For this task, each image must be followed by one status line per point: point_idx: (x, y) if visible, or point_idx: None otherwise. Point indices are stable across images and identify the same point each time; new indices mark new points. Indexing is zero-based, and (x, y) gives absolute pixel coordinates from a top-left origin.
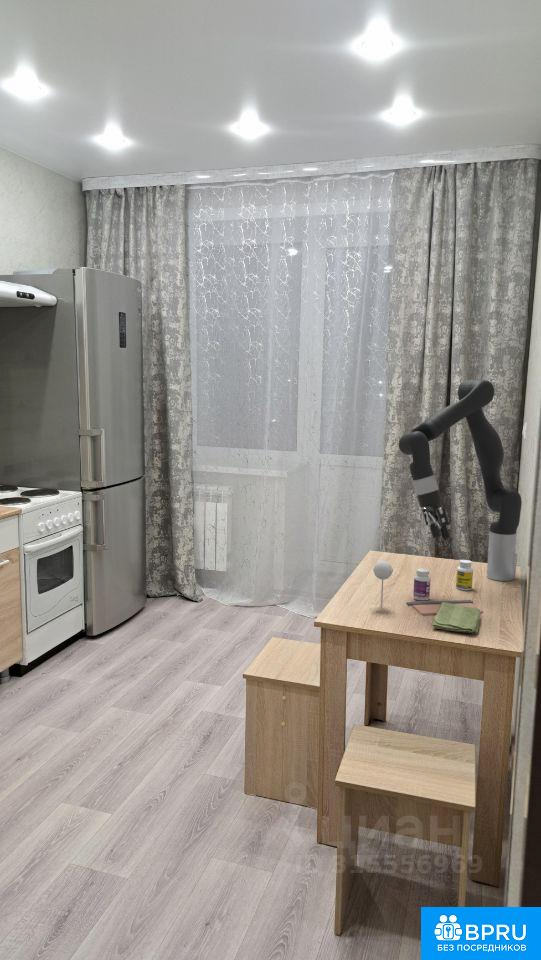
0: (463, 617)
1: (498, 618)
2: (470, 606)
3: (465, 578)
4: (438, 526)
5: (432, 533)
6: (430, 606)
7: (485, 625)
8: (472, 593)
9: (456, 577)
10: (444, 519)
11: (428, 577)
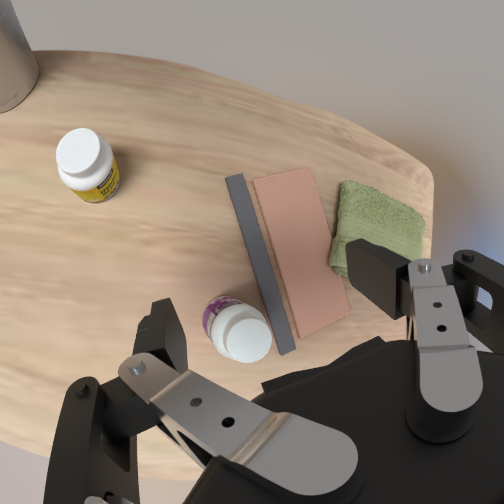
0: (402, 229)
1: (330, 144)
2: (282, 189)
3: (115, 168)
4: (406, 332)
5: (185, 358)
6: (303, 294)
7: (371, 184)
8: (144, 160)
9: (86, 197)
10: (442, 288)
11: (253, 314)
